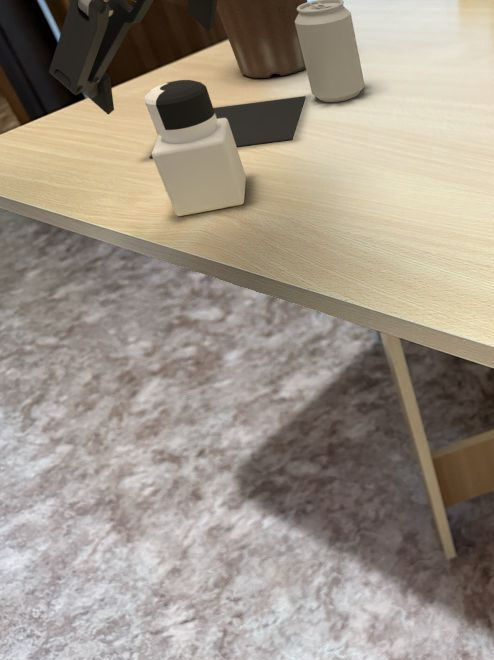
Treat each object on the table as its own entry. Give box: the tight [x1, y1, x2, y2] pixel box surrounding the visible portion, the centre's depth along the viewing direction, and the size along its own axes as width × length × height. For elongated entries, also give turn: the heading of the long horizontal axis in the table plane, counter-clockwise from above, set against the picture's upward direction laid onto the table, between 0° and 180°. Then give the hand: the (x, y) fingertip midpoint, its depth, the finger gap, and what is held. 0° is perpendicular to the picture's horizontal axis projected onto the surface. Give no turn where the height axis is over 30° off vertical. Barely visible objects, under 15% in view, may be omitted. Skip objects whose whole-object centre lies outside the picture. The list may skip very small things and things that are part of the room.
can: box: [295, 0, 365, 103], centre depth 94 cm, size 8×8×12 cm
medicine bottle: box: [143, 79, 247, 217], centre depth 72 cm, size 7×7×12 cm
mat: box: [148, 95, 306, 159], centre depth 92 cm, size 18×16×1 cm
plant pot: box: [216, 0, 308, 79], centre depth 107 cm, size 16×16×16 cm
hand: (151, 59), depth 67 cm, fingers open, 13 cm apart
